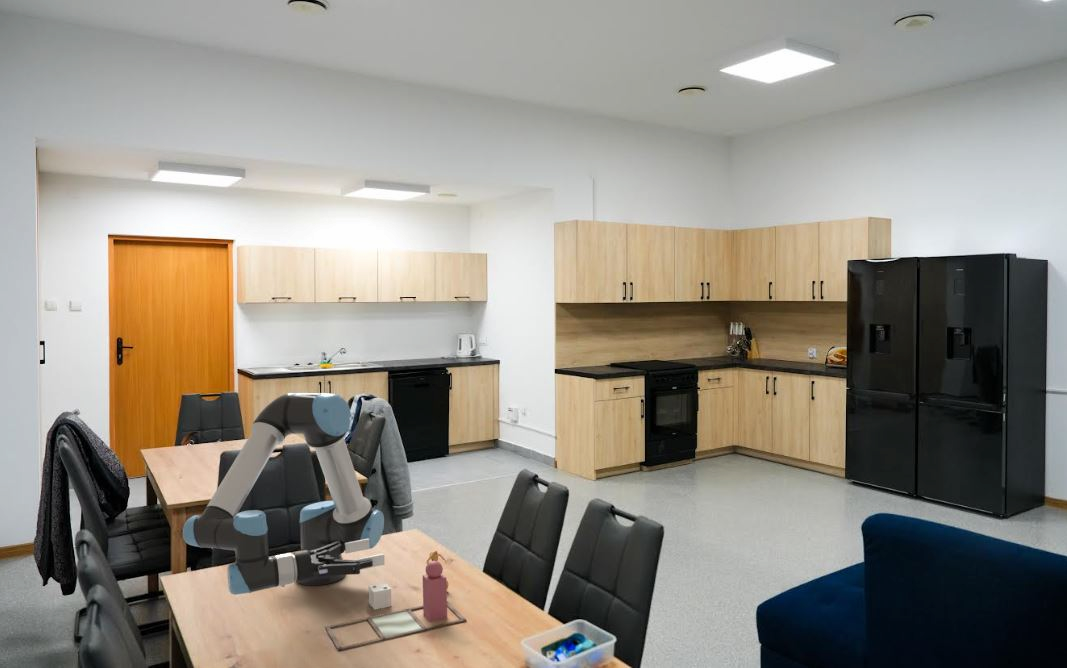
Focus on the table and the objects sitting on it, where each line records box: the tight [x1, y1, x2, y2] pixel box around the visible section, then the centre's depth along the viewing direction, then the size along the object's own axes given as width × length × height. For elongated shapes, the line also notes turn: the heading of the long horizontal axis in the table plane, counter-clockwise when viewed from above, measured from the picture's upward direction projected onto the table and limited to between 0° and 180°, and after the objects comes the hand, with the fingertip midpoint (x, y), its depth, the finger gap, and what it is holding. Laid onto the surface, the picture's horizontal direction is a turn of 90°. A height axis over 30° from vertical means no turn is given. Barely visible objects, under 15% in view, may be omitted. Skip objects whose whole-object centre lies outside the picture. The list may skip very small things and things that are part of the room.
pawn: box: [422, 560, 448, 622], centre depth 202 cm, size 5×5×15 cm
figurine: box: [426, 550, 449, 590], centre depth 219 cm, size 8×6×12 cm
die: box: [368, 582, 392, 610], centre depth 210 cm, size 5×5×5 cm
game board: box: [324, 601, 467, 652], centre depth 197 cm, size 15×34×1 cm, turn 118°
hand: (376, 551), depth 198 cm, fingers open, 13 cm apart
